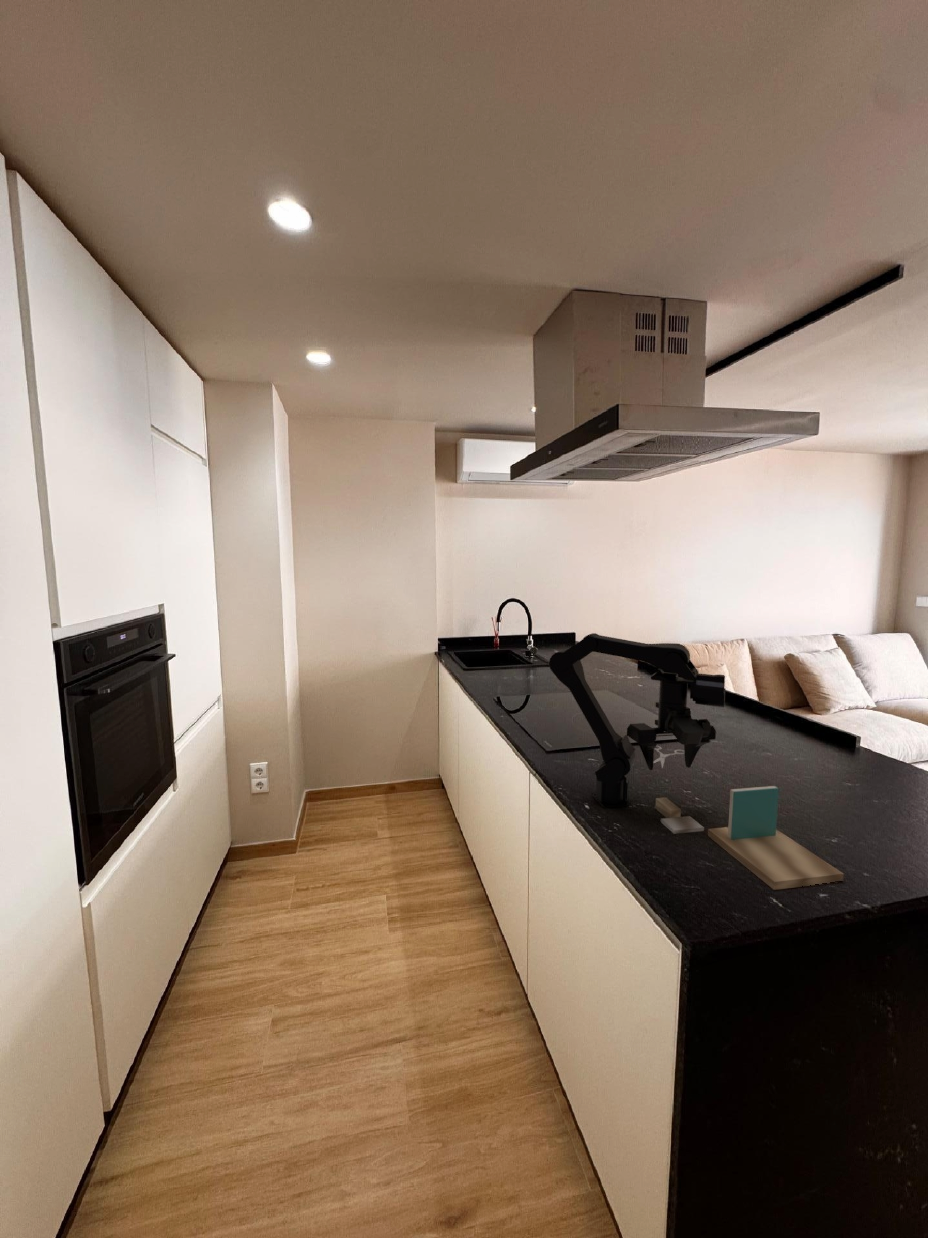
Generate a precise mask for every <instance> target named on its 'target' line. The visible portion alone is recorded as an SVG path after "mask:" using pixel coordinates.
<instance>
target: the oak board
mask: <svg viewBox="0 0 928 1238" xmlns="http://www.w3.org/2000/svg"><path fill="white" fill-rule="evenodd" d="M707 837H709V838H710V839H711V840H712V841H714V843H716V844H717V845H718V846H719V847H721V848H722V849H723V850H725V851H726V852H727V853H728V854H729V855H730V856H731V857H733V858H734V859H736V861H737V862H739V863H740V864H741V865H742V866H744V867H746V869H748V870H749V871H750V872H752V873H753V874H754V875H755V876H756V877H757V878H759V879H760V880H761V881H762V882H764V883H765V884H766V885H767V886H769V888H771V889H772V890H773V891H776V890H785V889H793V888H802V886H803V887H810V885H811V886H816V885H815V884H819V885H823V884H822V883H827V884H831V883H830V882H835V881H843V882H844V873H843V872H842V871H840V870H839V869H837V868H836V867H834V866H832V865H831V864H829V863H828V862H826V861H825V860H824V859H822V858H821V857H819V856H818V855H816V854H814V853H813V852H812V851H810V850H808V849H807V848H806V847H804V846H803V845H801V844H800V843H798V842H796V840H793V839H792V838H790V837H788V836H787V835H786V834H785V833H783V832H781V831H780V830H778V829H777V828H776V835H775V836H765V837H755V838H745V839H735V840H731V839H730V838H729V837H728V826H724V827H714V828H708V829H707ZM835 883H836V882H835Z"/></svg>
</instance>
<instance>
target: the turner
mask: <svg viewBox="0 0 928 1238" xmlns="http://www.w3.org/2000/svg"><path fill="white" fill-rule="evenodd" d="M655 809H656V810H657V812H659V813H660V814H661V815H662V816H664V818H660V822H661V824H663V826H665V827H666V828H667V829H668V830H669V831H670V832H671V833H672V834H674V835H677V834H686V833H687V834H688V833H696V832H704V831H705V827H704V826H703V825H702V824H700V823H699V822H698V821H697V820H695V818H693V817H691V815H687V816H681V815H682V809H681V808H680V807H678V806H677V805H676V804H674V803H673V802H672V800H669V799H668V798H667V797H666V796H665V797H657V798H655Z"/></svg>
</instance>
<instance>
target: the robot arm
mask: <svg viewBox="0 0 928 1238" xmlns="http://www.w3.org/2000/svg"><path fill="white" fill-rule="evenodd" d="M593 652H594V653H600V654H604V655H610V656H615V657H619V658H624V659H630V660H634V661H640V662H643V663H645V664H649V665H651V666H652V667H654V668H656V669H658V670H657V671H656V672H654V673H653V674H651V676H650V680H652V681H658V682H659V691H658V692H659V693H658V695H659V696H658V701H656V702H655V708H658V714H657V716H658V717H657V718H658V719H654V725H656V726H657V727H651V726H650V725H648V724H646V723H645V722H642V723H641V722H639V723H630V724H629V725H628V726H627V727H626V734H625V735H623V736H621V735H620V734H619V733H618V732H616V730H615V729H614V728H613V726H612V723H611V722H610V720H609V718H608V717H607V715H606V713H605V712H604V710H603V708H602V706H601V705H600V702H599V701H598V699H597V697H596V696H595V695H594V693H593V691H592V689H591V688H590V685H589V684H588V682H587V679H586V676H585V671H584V667H583V664H582V661H581V660H582V659H585V658H586V657H587V656H589V655H590V654H591V653H593ZM548 666H549V670H550V671H551V672H552V674H553V675H554V676H555V677H556V679H557V680H558V681H559V682H561V684H563V685H564V686H565V687H566V688H567V689H568V690H569V692H570V694H571V695H572V697H573V698H574V700H575V702H576V704H577V706H578V708H579V709H580V711H581V712H582V714H583V716H584V719H586V721H587V723H588V725H589V726H590V728H591V730H592V732H593V734H594V735H595V737H596V739H597V741H598V744H599V748H600V749H599V750H600V754H601V758H602V760H603V761H602V762H601V763H600V765H599V766H598V768H597V769H596V770H595V772H594V774H595V777H596V778H595V779H596V780H595V782H596V783H595V793H592V797H593V798H594V799H595V800H596V801H597V802H598V803H599V805H601V806H602V807H603V808H606V809H607V808H618V807H629V806H630V802H628V796H629V795H628V794H629V793H628V792H629V783H628V782H627V777H626V776H627V775H628V774H629V773H630V771H631V770H632V767H633V766H634V764H635V762H636V753H635V751H636V748H635V747H634V746H633V745H632V743H631V741H630V739H632V741H634V742H636V743H637V744H638V746H639V748H640V751H641V753H642V755H643V758H644V761H645V763H646V765H647V766H646V767H648V770H650V771H653V770H654V764H653V762H654V761H655V760H654V757H655V755H654V753H655V750H654V748H657V747H656V746H658V744H657V743H656V740H657V737H669V736H670V737H672V736H674V737H675V739H676V740H677V742H678V743H679V744H680V745H683V747H684V752H683V753H685V754H684V763H685V767H686V768H691V766H692V764H693V762H694V761H695V758H696V756H697V754H698V753H699V751H700V748H701V747H703V746H704V745H705V744H710V742H711V741H713V740H716V738H717V729H716V728H715V726H714V725H711V722H710V720H708V719H707V718H701V719H697V718H695V719H693V717H692V713H691V712H692V711H691V708H690V707H688V704H687V703H688V689H689V688H690V693H689V699H691V700H692V702H694V703H695V705H702V706H710V707H718V708H725V702H726V688H725V685H726V684H725V683H726V676H725V675H724V674H710V673H708V674H707V673H699V670H698V669H697V667H696V666H695V665H694V663H693V662H692V660H691V654H690V651H689V650H688V648H687V647H686V646H684V645H683V644H681V643H671V642H669V643H668V642H667V643H666V642H665V643H663V642H662V643H645V642H639V641H634V640H628V639H622V638H617V637H611V636H604V635H600V634H598V633H593V632H592V633H590V634H587V635H585V636H584V637H583V638H582V639H581V640H579V641H578V642H576V643H575V644H574V645H572V646H571V647H569V648H564V649H562V650H559V651H556V652H555V653H553V654H552V655H551V656H550V659H549V660H548ZM688 685H690V687H689V688H688Z"/></svg>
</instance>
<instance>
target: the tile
mask: <svg viewBox="0 0 928 1238" xmlns="http://www.w3.org/2000/svg"><path fill="white" fill-rule="evenodd" d="M729 791H730V792H729V793H730V795H729V811H728V825H727V827H728V837H729V838H730V839H731V840H735V839H745V838H755V837H765V836H775V835H776V829H777V824H778V823H777V821H778V809H779V808H778V806H779V793H780V788H778V787H777V786H776V785H768V786H757V787H755V786H754V787H745V788H732V789H730V790H729Z"/></svg>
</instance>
